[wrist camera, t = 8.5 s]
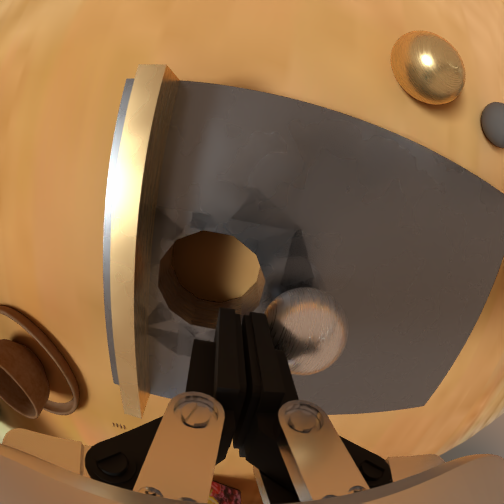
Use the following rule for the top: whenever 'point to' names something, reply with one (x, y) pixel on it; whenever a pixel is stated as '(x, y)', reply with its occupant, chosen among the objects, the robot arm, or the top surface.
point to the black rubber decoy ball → (494, 123)
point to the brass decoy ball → (428, 67)
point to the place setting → (31, 373)
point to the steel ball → (308, 329)
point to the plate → (291, 238)
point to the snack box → (223, 494)
